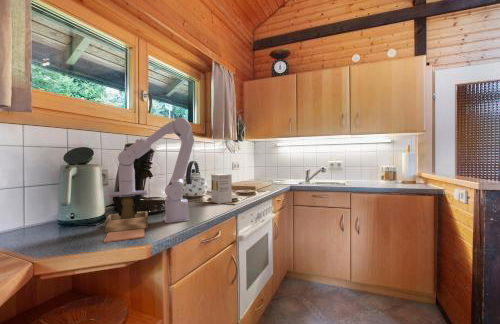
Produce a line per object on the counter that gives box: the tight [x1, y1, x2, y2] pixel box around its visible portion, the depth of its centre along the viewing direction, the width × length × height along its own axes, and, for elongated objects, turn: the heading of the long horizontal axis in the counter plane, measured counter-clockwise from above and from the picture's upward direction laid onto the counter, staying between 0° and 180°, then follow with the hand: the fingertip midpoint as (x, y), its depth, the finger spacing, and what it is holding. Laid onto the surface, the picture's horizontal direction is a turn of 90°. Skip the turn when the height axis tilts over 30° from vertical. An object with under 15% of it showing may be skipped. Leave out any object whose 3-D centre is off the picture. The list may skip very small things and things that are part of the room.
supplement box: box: [210, 173, 233, 205], centre depth 152 cm, size 10×9×17 cm
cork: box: [120, 196, 135, 220], centre depth 101 cm, size 6×6×11 cm
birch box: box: [104, 210, 149, 234], centre depth 101 cm, size 15×13×4 cm
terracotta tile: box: [103, 228, 145, 244], centre depth 88 cm, size 12×10×1 cm
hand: (128, 214), depth 101 cm, fingers closed on cork, 5 cm apart
